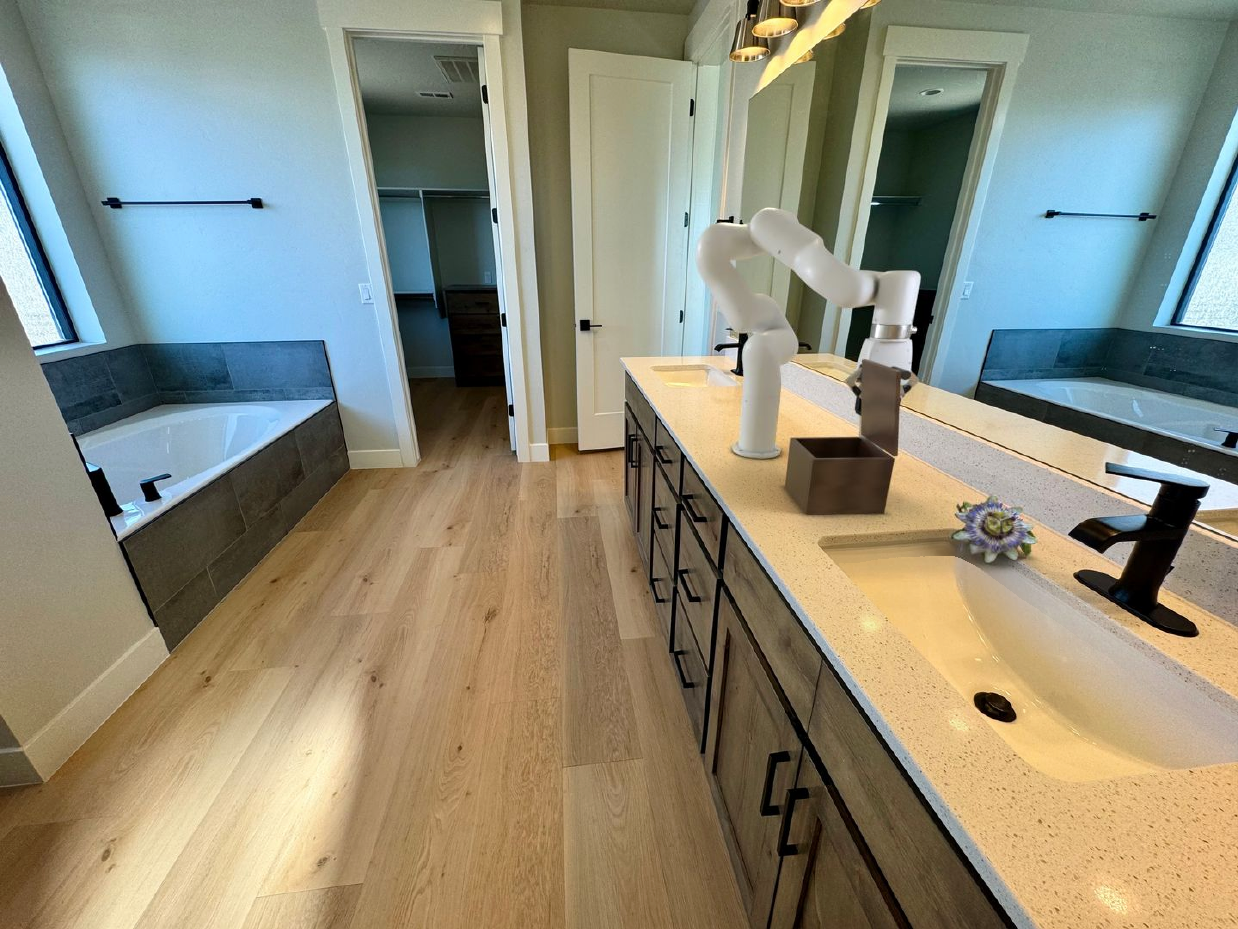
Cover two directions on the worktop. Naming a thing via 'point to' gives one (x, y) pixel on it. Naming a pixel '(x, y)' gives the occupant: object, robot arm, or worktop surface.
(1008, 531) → the passion flower
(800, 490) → the chest
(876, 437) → the lid
